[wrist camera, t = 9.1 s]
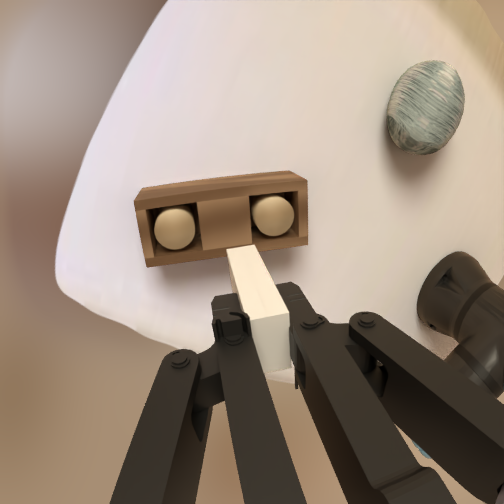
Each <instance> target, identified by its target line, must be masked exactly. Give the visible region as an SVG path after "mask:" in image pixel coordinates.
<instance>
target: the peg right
mask: <svg viewBox="0 0 504 504" xmlns="http://www.w3.org/2000/svg"><path fill="white" fill-rule="evenodd" d="M249 207H250V216H251V218H252V219H253V221H254V222H255V224H256V225H257V227H258V228H259V230H260V231H261V232H262V233H264V234H266V235H269V236H278V235H281V234H283V233H285V232H286V231H287V230H288V229H289V228H290V227H291V225H292V223H293V220H294V211H293V208H292V206H291V205H290V204H289V203H288V202H287V201H286V200H285V199H284V198H283V197H281V196H280V195H279V194H278V193H269V194H260V195H251V196H249Z"/></svg>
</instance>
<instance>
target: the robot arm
mask: <svg viewBox="0 0 504 504" xmlns="http://www.w3.org/2000/svg"><path fill="white" fill-rule="evenodd" d="M226 251H227V257H228V264H229V271H230V278H231V284H232V291H233V293H231V294H226V295H220V296H215V297H214V299H213V301H212V302H211V306H212V313H213V320H212V327H213V332H214V337H215V342H214V344H213V345H212V346H211V347H210V348H209V349H208V350H206V351H204V352H202V353H199V354H196V353H195V352H193V351H192V350H187V349H180V350H176V351H173V352H171V353H169V354H168V355H166V356H165V357H164V359H163V360H162V363H161V365H160V368H159V370H158V373H157V375H156V378H155V380H154V383H153V385H152V388H151V390H150V393H149V396H148V398H147V401H146V403H145V406H144V409H143V411H142V414H141V417H140V419H139V422H138V425H137V428H136V430H135V433H134V435H133V438H132V441H131V444H130V446H129V449H128V452H127V455H126V458H125V460H124V463H123V466H122V469H121V472H120V475H119V477H118V480H117V483H116V486H115V489H114V492H113V495H112V498H111V501H110V504H195V501H196V496H197V490H198V485H199V480H200V474H201V469H202V464H203V458H204V452H205V448H206V442H207V436H208V431H209V426H210V421H211V416H212V410H213V406H214V405H216V404H218V403H220V402H222V401H225V404H226V410H227V416H228V421H229V427H230V432H231V438H232V443H233V448H234V454H235V459H236V464H237V469H238V474H239V478H240V483H241V488H242V493H243V498H244V503H245V504H307V503H306V500H305V497H304V494H303V491H302V488H301V485H300V482H299V479H298V476H297V473H296V471H295V467H294V465H293V462H292V459H291V456H290V453H289V450H288V447H287V444H286V441H285V438H284V435H283V432H282V429H281V425H280V423H279V419H278V416H277V413H276V410H275V407H274V404H273V401H272V398H271V394H270V391H269V388H268V385H267V382H266V379H265V375H264V374H265V373H269V372H274V371H279V370H283V369H288V368H292V367H291V359H292V362H293V364H294V367H295V389H298V385H299V387H300V389H301V392H302V394H303V397H304V399H305V402H306V404H307V406H308V409H309V411H310V414H311V416H312V419H313V421H314V423H315V426H316V428H317V431H318V433H319V435H320V438H321V440H322V443H323V445H324V447H325V450H326V452H327V455H328V457H329V459H330V461H331V464H332V466H333V469H334V471H335V473H336V476H337V478H338V480H339V483H340V485H341V488H342V490H343V493H344V495H345V497H346V500H347V502H348V504H457V503H456V502H455V500H454V499H453V497H452V495H451V494H450V492H449V490H448V489H447V487H446V485H445V484H444V482H443V481H442V479H441V478H440V476H439V475H438V473H437V472H436V471H435V470H434V469H432V468H431V467H422V466H421V465H420V464H419V463H418V462H417V460H416V459H415V457H414V455H413V454H412V452H411V450H410V449H409V447H408V445H407V444H406V442H405V441H404V439H403V437H402V436H401V434H400V432H399V431H398V429H397V428H396V426H395V425H394V423H395V424H396V425H397V426H398V427H399V428H400V429H401V430H402V431H403V432H404V433H405V434H406V435H407V436H408V437H409V438H411V440H412V442H413V443H414V445H415V446H416V447H417V448H418V449H419V451H420V452H421V454H422V455H424V456H425V457H426V458H430V459H431V458H432V459H433V460H434V461H435V462H436V463H437V464H438V465H440V466H441V467H442V468H443V469H444V470H445V471H446V472H447V473H448V474H450V476H452V477H453V478H454V479H455V480H456V481H457V482H458V483H459V484H460V485H461V486H463V487H464V488H465V489H466V490H467V491H468V492H470V493H471V494H472V495H473V496H475V497H476V498H478V499H480V500H481V501H483V503H484V504H504V404H502V403H501V402H499V401H498V400H497V398H498V397H499V396H500V395H501V394H502V393H503V392H504V290H503V289H501V288H500V287H499V286H497V285H496V284H494V283H493V282H492V281H491V280H490V278H489V277H488V275H487V274H486V272H485V271H484V270H483V268H482V267H481V266H480V264H479V262H478V261H477V260H476V259H475V258H474V257H472V256H470V255H469V254H467V253H465V252H454V253H452V254H450V255H448V256H446V257H445V258H443V259H442V260H441V261H440V262H439V263H438V264H437V265H436V266H435V267H434V268H433V269H432V271H431V272H430V274H429V275H428V277H427V278H426V280H425V282H424V284H423V286H422V288H421V291H420V294H419V298H418V303H417V311H418V315H419V318H420V319H421V320H422V321H423V322H424V323H425V324H426V325H427V326H428V327H429V328H430V329H432V330H435V331H437V332H440V333H442V334H445V335H447V336H450V337H452V338H454V339H455V340H456V341H457V342H458V343H459V344H458V346H457V347H456V348H455V349H454V350H453V351H452V352H451V353H450V354H449V355H448V356H447V357H446V358H445V360H444V361H443V360H442V359H441V358H439V357H438V356H436V355H435V354H434V353H432V352H431V351H429V350H428V349H427V348H425V347H424V346H422V345H421V344H419V343H418V342H417V341H415V340H414V339H412V338H411V337H410V336H408V335H407V334H405V333H404V332H402V331H401V330H400V329H398V328H397V327H395V326H394V325H393V324H391V323H390V322H388V321H387V320H385V319H384V318H383V317H381V316H380V315H378V314H376V313H373V312H359V313H356V314H354V315H353V316H351V318H350V320H349V323H344V324H335V323H329V321H328V320H327V319H326V318H325V317H324V316H322V315H320V314H316V313H315V311H314V309H313V308H312V306H311V305H310V303H309V301H308V300H307V298H306V297H305V295H304V294H303V292H302V291H301V289H300V287H299V286H297V285H296V284H294V283H292V282H288V283H282V284H277V285H275V284H274V282H273V280H272V278H271V276H270V274H269V272H268V270H267V268H266V266H265V264H264V262H263V260H262V259H261V257H260V255H259V253H258V251H257V249H256V247H255V245H249V246H243V247H237V248H231V249H226ZM380 362H381V363H380ZM393 422H394V423H393Z"/></svg>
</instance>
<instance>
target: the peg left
mask: <svg viewBox="0 0 504 504" xmlns="http://www.w3.org/2000/svg"><path fill="white" fill-rule="evenodd" d="M154 232H155V236H156V239H157V240H158V242H159V243H160V244H161V245H162V246H164V247H166V248H169V249H181V248H184V247H185V246H187V245H188V244H189V243H190V242H191V241H192V239H193V237H194V234H195V223H194V212H193V209H192V207H191V205H190V204H189V203H187V204H180V205H173V206H166V207H161V208H160V210H159V213H158V216H157V220H156V223H155V228H154Z"/></svg>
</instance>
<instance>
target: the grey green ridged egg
mask: <svg viewBox="0 0 504 504" xmlns="http://www.w3.org/2000/svg"><path fill="white" fill-rule="evenodd" d="M464 101H465V95H464V89H463V85H462V82H461V79H460V77H459V75H458V73H457V72H456V70H455V69H454V68H453V67H452V66H451V65H450V64H448V63H445V62H442V61H435V60H432V61H424V62H421V63H418V64H416V65H414V66H412V67H411V68H409V69H408V70H407V71H406V72H405V73H404V74H403V75H402V76H401V77H400V78H399V80H398V81H397V83H396V85H395V87H394V89H393V91H392V94H391V97H390V100H389V103H388V108H387V125H388V129H389V133H390V136H391V138H392V140H393V142H394V143H395V144H396V145H397V146H398V147H399V148H400V149H402V150H403V151H405V152H407V153H411V154H417V155H426V154H430V153H433V152H436V151H438V150H440V149H441V148H442V147H444V146H445V145H446V144H447V142H448V141H449V140H450V139H451V137H452V136H453V135H454V133H455V131H456V129H457V128H458V126H459V123H460V120H461V117H462V114H463V110H464Z"/></svg>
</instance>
